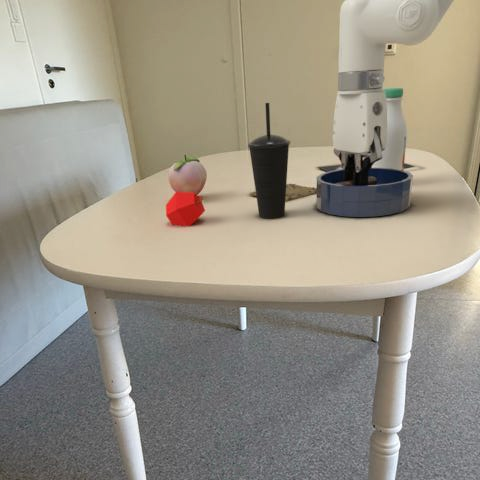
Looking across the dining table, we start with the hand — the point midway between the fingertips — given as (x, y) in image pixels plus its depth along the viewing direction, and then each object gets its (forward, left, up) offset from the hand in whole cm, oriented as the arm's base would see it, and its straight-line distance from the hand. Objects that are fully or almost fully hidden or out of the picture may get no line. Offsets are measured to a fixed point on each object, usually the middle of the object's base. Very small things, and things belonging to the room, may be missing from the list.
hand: (354, 190), depth 86 cm
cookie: (+3, -20, -4) cm, 20 cm away
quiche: (-28, -29, -4) cm, 41 cm away
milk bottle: (-17, -10, -4) cm, 20 cm away
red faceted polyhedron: (+30, -13, -4) cm, 33 cm away
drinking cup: (+15, -6, -4) cm, 17 cm away
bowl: (-2, 0, -4) cm, 4 cm away
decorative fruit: (+22, -32, -4) cm, 39 cm away
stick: (0, 0, 0) cm, 0 cm away
